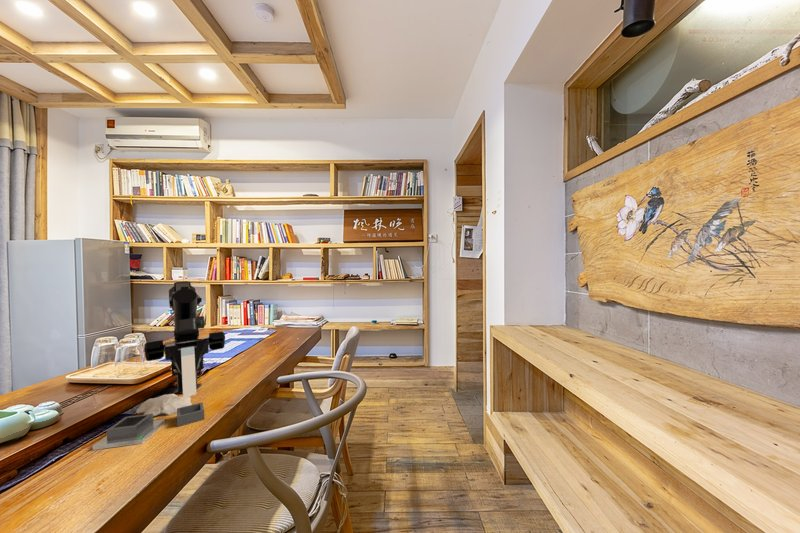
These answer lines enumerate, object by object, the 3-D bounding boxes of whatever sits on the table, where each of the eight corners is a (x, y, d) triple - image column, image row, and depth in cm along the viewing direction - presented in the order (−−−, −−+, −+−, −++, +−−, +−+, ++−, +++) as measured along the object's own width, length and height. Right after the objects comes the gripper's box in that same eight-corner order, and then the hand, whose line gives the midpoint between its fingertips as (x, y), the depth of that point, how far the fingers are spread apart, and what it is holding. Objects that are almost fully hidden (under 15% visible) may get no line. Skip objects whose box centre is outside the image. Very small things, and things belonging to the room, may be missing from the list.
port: (122, 428, 82) (121, 415, 82) (165, 422, 83) (164, 409, 83) (92, 450, 72) (91, 435, 72) (142, 443, 74) (141, 428, 74)
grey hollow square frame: (177, 417, 86) (177, 408, 86) (202, 410, 90) (202, 402, 90) (177, 426, 81) (176, 417, 81) (204, 419, 84) (204, 410, 84)
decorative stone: (125, 421, 87) (180, 423, 87) (124, 408, 86) (179, 410, 86) (155, 399, 97) (203, 401, 98) (154, 388, 97) (203, 389, 97)
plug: (182, 393, 86) (180, 348, 86) (195, 390, 88) (193, 346, 88) (183, 397, 83) (180, 350, 83) (196, 394, 85) (194, 348, 85)
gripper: (143, 312, 83) (140, 362, 74) (222, 304, 94) (229, 347, 85) (147, 336, 90) (145, 385, 81) (221, 326, 100) (227, 369, 91)
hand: (188, 371), depth 84 cm, fingers closed on plug, 3 cm apart
